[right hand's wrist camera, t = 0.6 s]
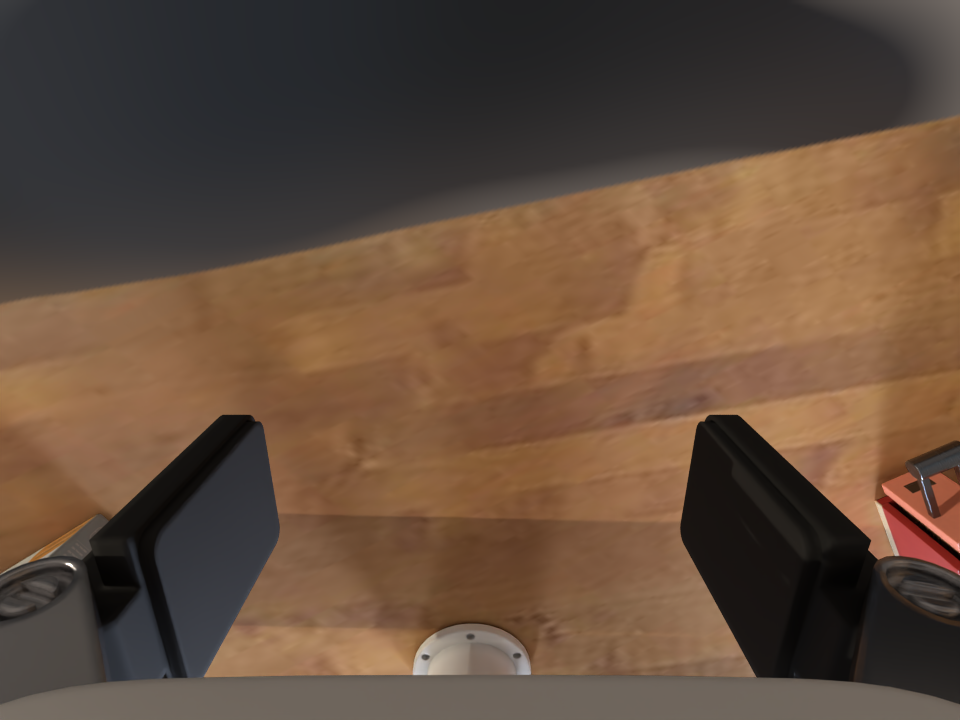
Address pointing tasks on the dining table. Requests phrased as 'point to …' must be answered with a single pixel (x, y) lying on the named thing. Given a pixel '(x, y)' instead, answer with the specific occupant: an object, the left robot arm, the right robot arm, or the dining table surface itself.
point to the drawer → (931, 495)
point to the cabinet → (912, 537)
